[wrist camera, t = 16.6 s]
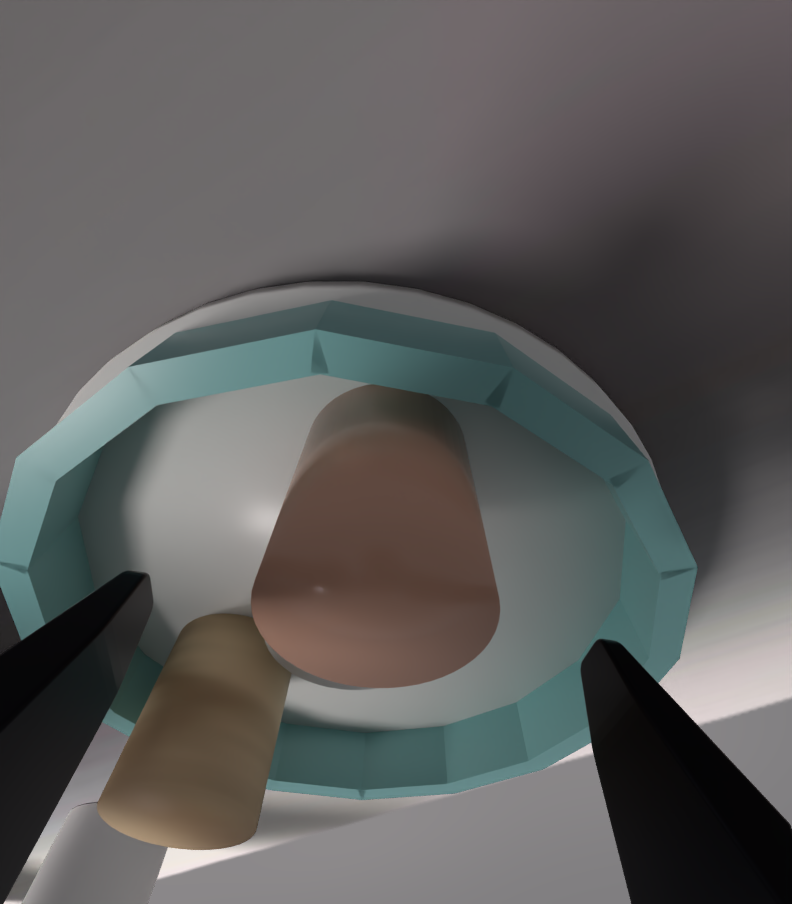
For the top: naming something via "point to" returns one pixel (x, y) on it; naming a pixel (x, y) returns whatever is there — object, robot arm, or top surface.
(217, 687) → the wood cylinder
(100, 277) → the top surface
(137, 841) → the cylindrical container
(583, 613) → the groove tray
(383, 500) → the pinkish brown short cylinder
